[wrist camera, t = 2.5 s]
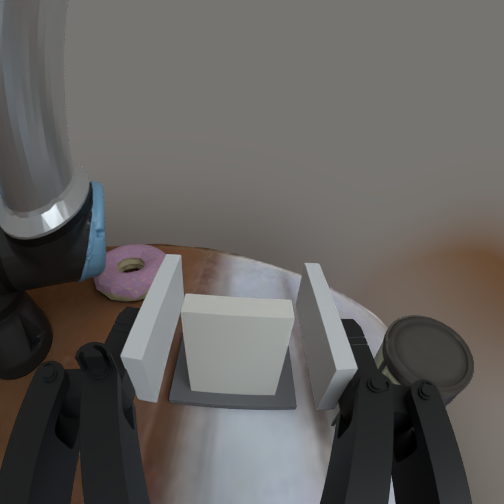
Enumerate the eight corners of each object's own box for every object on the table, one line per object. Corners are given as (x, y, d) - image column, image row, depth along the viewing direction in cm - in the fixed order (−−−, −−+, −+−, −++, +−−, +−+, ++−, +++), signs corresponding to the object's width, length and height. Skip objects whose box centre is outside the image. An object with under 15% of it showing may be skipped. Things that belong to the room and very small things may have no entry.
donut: (108, 319, 40) (101, 294, 37) (88, 274, 49) (83, 253, 47) (188, 289, 49) (186, 265, 47) (153, 254, 59) (152, 233, 56)
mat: (169, 402, 29) (168, 399, 28) (191, 304, 45) (191, 300, 45) (295, 409, 29) (296, 406, 29) (281, 309, 46) (282, 306, 46)
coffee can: (416, 405, 28) (472, 332, 22) (399, 468, 21) (474, 406, 14) (354, 381, 33) (394, 302, 26) (324, 441, 25) (374, 370, 18)
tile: (191, 390, 30) (180, 311, 24) (194, 373, 32) (186, 292, 26) (274, 395, 30) (294, 318, 24) (273, 377, 33) (290, 298, 26)
